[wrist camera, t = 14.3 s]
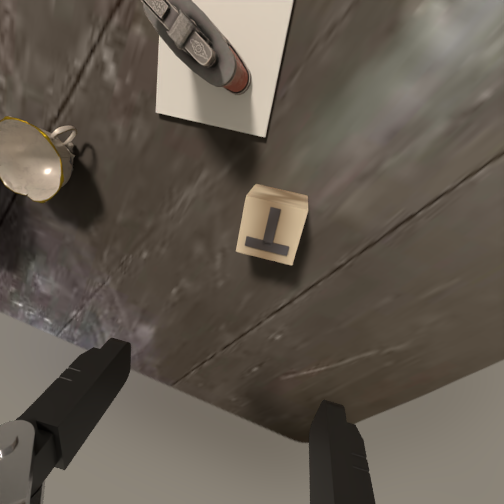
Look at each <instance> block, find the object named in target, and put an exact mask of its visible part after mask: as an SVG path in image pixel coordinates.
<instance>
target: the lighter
mask: <svg viewBox="0 0 504 504" xmlns="http://www.w3.org/2000/svg"><path fill="white" fill-rule="evenodd" d="M141 1H142V2H143V7H144V11H145V13H146V16H147V17H148V19H149V20H150V22H151V23H152V25H153V26H154V28H155V29H156V31H157V32H158V34H159V35H160V37H161V38H162V39H163V40H164V42H165V43H166V44H167V45H168V47H169V48H170V49H171V50H172V51H173V53H174V54H175V55H176V56H177V57H178V58H179V59H180V60H181V61H182V62H183V63H184V64H186V65H187V66H188V67H189V68H190V69H191V70H192V71H193V72H194V73H196V74H197V75H199V76H200V77H201V78H203V79H204V80H205V81H207V82H208V83H210V84H211V85H214V86H216V87H223V88H224V89H226V90H227V91H229V92H230V93H232V94H234V95H241V94H244V93H245V92H246V91H247V90H248V89H249V87H250V85H251V81H252V77H251V73H250V71H249V69H248V67H247V66H246V64H245V62H244V61H243V59H242V57H241V56H240V54H239V53H238V52H237V51H236V49H235V48H234V47H233V45H232V44H231V43H230V41H229V40H228V39H227V38H226V37H225V36H224V35H223V34H222V33H221V32H220V31H219V29H218V28H217V27H216V26H215V25H214V23H213V22H212V21H211V20H210V19H209V18H208V17H207V15H206V14H205V13H204V12H203V11H202V10H201V9H200V8H199V7H198V6H197V5H196V4H195V3H194V2H193V1H192V0H141Z"/></svg>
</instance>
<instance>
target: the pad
mask: <svg viewBox="0 0 504 504" xmlns="http://www.w3.org/2000/svg"><path fill="white" fill-rule="evenodd" d="M192 1H193V2H194V3H195V4H196V5H197V6H198V7H199V8H200V9H201V10H202V11H203V12H204V13H205V14H206V15H207V17H208V18H209V19H210V20H211V21H212V22H213V23H214V25H215V26H216V27H217V28H218V29H219V31H220V32H221V33H222V34H223V35H224V36H225V37H226V38H227V39H228V40H229V41H230V43H231V44H232V45H233V47H234V48H235V49H236V51H237V52H238V53H239V54H240V56H241V57H242V59H243V61H244V62H245V64H246V66H247V67H248V69H249V71H250V73H251V77H252V81H251V85H250V87H249V89H248V90H247V91H246V92H245V93H244V94H241V95H234V94H232V93H230V92H229V91H227V90H226V89H224V88H223V87H216V86H214V85H211V84H210V83H208V82H207V81H205V80H204V79H203V78H201V77H200V76H199V75H197V74H196V73H194V72H193V71H192V70H191V69H190V68H189V67H188V66H187V65H186V64H184V63H183V62H182V61H181V60H180V59H179V58H178V57H177V56H176V55H175V54H174V53H173V51H172V50H171V49H170V48H169V47H168V45H167V44H166V43H165V42H164V40H163V39H162V38H161V37H160V35H159V54H158V76H157V97H156V113H160V114H165V115H169V116H173V117H178V118H182V119H186V120H191V121H195V122H200V123H204V124H208V125H213V126H217V127H221V128H226V129H230V130H234V131H239V132H243V133H247V134H252V135H256V136H260V137H266V133H267V128H268V123H269V119H270V114H271V109H272V104H273V99H274V94H275V90H276V85H277V80H278V75H279V70H280V65H281V61H282V56H283V51H284V46H285V41H286V36H287V32H288V27H289V22H290V17H291V12H292V7H293V3H294V0H192Z"/></svg>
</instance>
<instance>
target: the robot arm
mask: <svg viewBox="0 0 504 504" xmlns="http://www.w3.org/2000/svg"><path fill="white" fill-rule="evenodd" d="M130 363H131V344H130V343H129V342H125V341H122V340H118V339H115V338H111V339H109V340H108V341H107V342H106V343H105V344H104V345H103V346H102V348H101V349H98V348H94V347H93V348H92V349H90V350H88V351H86V352H85V353H83V354H81V355H80V356H79V357H78V358H77V359H76V360H75V361H74V362H73V363H72V364H71V365H70V366H69V368H68V369H66V370H65V371H64V372H63V373H62V374H61V375H60V377H59V378H57V379H56V380H55V381H54V382H53V383H52V384H51V385H50V386H49V388H47V389H46V390H45V392H44V393H43V394H42V395H41V396H40V397H39V398H38V399H37V400H36V401H35V402H34V403H33V404H32V405H31V406H30V407H29V408H28V409H27V410H26V411H25V412H24V413H23V414H22V415H21V416H20V417H19V418H17V419H16V420H14V421H9V422H6V423H4V424H1V425H0V504H43V499H44V488H45V479H46V478H47V476H48V475H49V473H50V472H51V471H52V469H53V468H54V467H56V468H60V469H63V470H65V469H66V468H67V466H68V465H69V463H70V462H71V461H72V459H73V457H74V456H75V455H76V453H77V452H78V450H79V449H80V447H81V446H82V444H83V443H84V442H85V440H86V439H87V437H88V436H89V434H90V433H91V432H92V430H93V429H94V427H95V426H96V424H97V423H98V422H99V420H100V419H101V417H102V416H103V414H104V413H105V411H106V410H107V409H108V407H109V406H110V404H111V403H112V401H113V400H114V398H115V397H116V395H117V394H118V393H119V391H120V390H121V388H122V387H123V385H124V383H125V382H126V380H127V378H128V376H129V373H130ZM309 467H310V504H375V499H374V494H373V488H372V483H371V478H370V474H369V467H368V462H367V460H366V451H365V446H364V441H363V439H362V437H361V435H360V433H359V431H358V429H357V427H356V425H354V424H351V423H348V422H347V421H346V414H345V409H344V406H343V405H340V404H337V403H333V402H330V401H327V400H323V401H322V403H321V405H320V407H319V409H318V411H317V413H316V415H315V417H314V420H313V422H312V424H311V428H310V434H309Z"/></svg>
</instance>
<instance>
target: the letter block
mask: <svg viewBox="0 0 504 504" xmlns="http://www.w3.org/2000/svg"><path fill="white" fill-rule="evenodd" d="M307 213H308V196H306V195H302V194H297V193H293V192H289V191H284V190H280V189H276V188H272V187H267V186H263V185H259V184H255V185H254V187H253V188H252V189H251V190H250V192H249V193H248V194H247V195H246V200H245V205H244V210H243V216H242V221H241V226H240V232H239V237H238V242H237V248H236V252H240V253H244V254H248V255H252V256H256V257H260V258H264V259H268V260H272V261H276V262H280V263H284V264H288V265H291V266H292V265H293V261H294V258H295V254H296V251H297V248H298V244H299V241H300V237H301V234H302V230H303V227H304V224H305V220H306V217H307Z"/></svg>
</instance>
